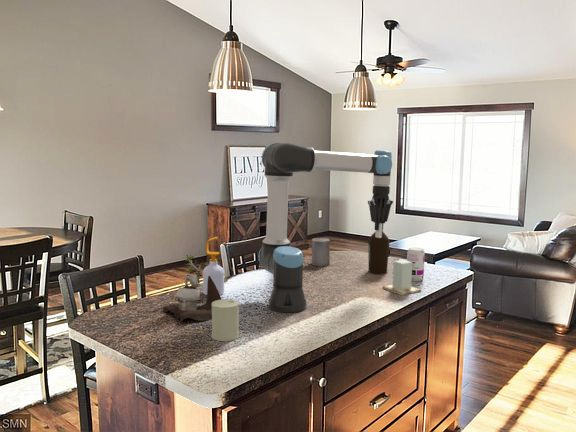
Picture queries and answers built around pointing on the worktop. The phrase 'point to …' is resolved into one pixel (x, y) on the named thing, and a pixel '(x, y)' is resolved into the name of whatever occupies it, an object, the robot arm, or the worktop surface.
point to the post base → (401, 292)
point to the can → (225, 320)
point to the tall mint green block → (402, 274)
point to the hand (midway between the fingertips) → (378, 237)
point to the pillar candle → (320, 251)
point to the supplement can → (416, 263)
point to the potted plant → (194, 296)
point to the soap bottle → (213, 271)
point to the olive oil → (378, 254)
